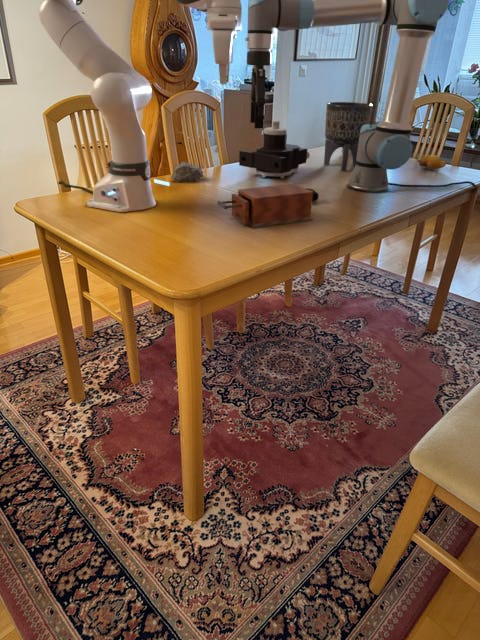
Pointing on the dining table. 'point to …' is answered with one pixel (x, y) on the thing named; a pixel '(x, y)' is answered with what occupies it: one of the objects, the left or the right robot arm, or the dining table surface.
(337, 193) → the dining table surface
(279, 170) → the mechanical component
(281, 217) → the cabinet
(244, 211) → the drawer
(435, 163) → the toy
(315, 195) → the tape measure
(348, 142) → the planter
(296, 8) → the right robot arm
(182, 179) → the rock
